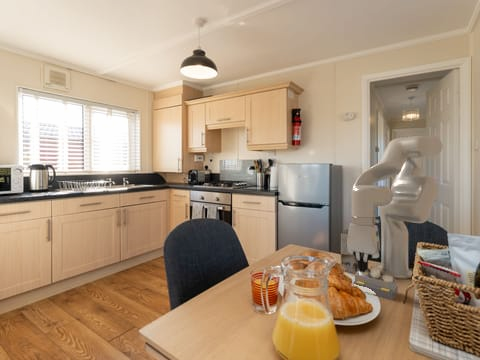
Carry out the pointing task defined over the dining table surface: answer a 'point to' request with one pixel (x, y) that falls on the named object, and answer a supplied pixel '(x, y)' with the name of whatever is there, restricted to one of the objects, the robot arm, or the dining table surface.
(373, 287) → the button board
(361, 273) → the end button
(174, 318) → the dining table surface
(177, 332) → the dining table surface
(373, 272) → the middle button
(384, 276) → the end button
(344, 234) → the coffee box
